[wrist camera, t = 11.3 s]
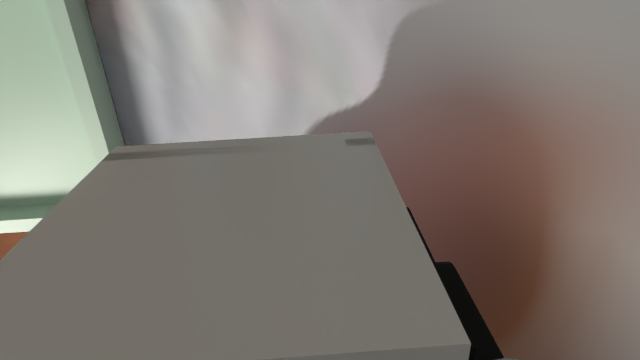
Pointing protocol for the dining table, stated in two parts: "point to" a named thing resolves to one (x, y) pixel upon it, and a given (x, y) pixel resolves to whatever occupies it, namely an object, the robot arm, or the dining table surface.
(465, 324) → the robot arm
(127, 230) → the box
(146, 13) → the dining table surface
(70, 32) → the tray
